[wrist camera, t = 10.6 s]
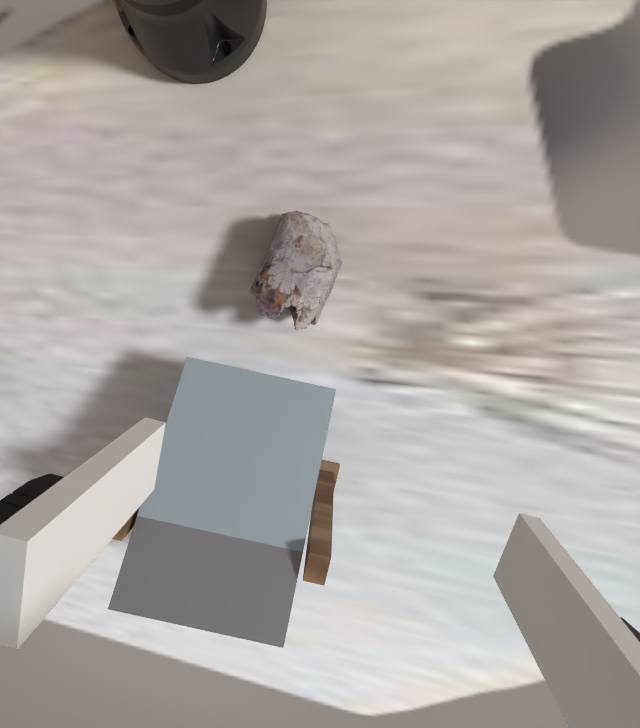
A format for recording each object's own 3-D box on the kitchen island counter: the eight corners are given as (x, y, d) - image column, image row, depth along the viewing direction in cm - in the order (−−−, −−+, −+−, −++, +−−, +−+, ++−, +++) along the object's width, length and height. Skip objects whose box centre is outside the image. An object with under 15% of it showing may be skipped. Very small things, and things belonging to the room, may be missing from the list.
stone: (286, 192, 41) (293, 211, 47) (237, 302, 42) (251, 305, 49) (359, 227, 41) (355, 241, 48) (308, 336, 42) (311, 334, 49)
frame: (174, 427, 53) (98, 496, 37) (339, 463, 53) (338, 549, 37) (169, 462, 54) (93, 544, 38) (331, 497, 54) (327, 595, 38)
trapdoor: (195, 366, 47) (186, 357, 43) (332, 396, 47) (335, 389, 43) (126, 596, 40) (107, 609, 36) (284, 631, 40) (283, 647, 36)
